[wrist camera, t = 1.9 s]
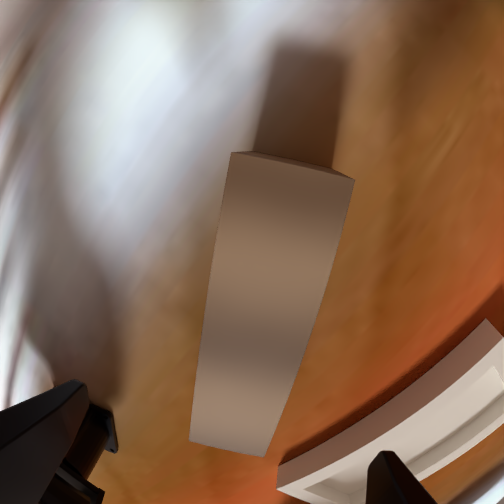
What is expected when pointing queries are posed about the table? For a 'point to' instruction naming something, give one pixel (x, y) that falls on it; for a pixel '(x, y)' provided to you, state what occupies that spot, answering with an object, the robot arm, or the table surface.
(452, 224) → the table surface
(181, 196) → the table surface
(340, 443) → the slot tray
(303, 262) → the walnut block
